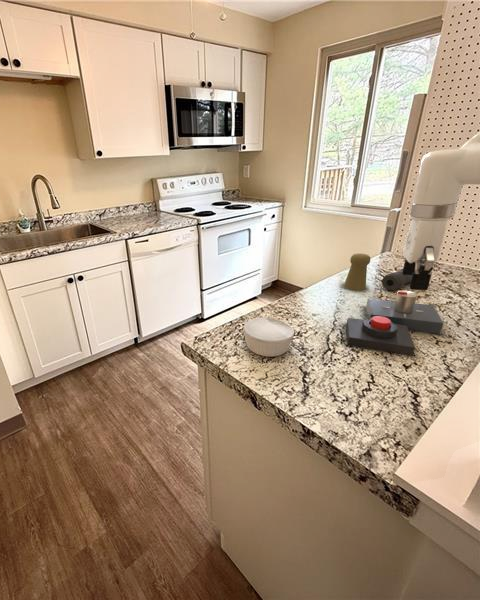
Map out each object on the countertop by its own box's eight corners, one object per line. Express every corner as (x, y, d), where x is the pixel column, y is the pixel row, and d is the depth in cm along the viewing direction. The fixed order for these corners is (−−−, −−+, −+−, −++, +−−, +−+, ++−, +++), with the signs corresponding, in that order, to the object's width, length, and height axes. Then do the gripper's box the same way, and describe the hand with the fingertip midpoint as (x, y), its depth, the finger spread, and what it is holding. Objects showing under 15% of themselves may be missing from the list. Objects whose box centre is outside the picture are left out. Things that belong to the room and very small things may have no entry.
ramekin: (299, 343, 75) (301, 325, 73) (279, 366, 69) (282, 346, 66) (255, 330, 83) (257, 312, 81) (234, 349, 76) (235, 330, 74)
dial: (410, 307, 80) (415, 290, 78) (414, 314, 77) (419, 296, 75) (391, 305, 82) (396, 288, 80) (394, 311, 79) (398, 294, 77)
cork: (342, 282, 104) (348, 251, 99) (363, 283, 102) (370, 251, 97) (345, 290, 99) (351, 257, 94) (367, 291, 97) (375, 257, 92)
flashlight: (397, 293, 94) (401, 277, 91) (378, 288, 98) (381, 272, 96) (425, 281, 99) (430, 265, 97) (405, 276, 104) (410, 261, 101)
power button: (388, 323, 73) (389, 317, 73) (390, 331, 70) (392, 324, 70) (369, 321, 75) (371, 314, 74) (371, 328, 72) (372, 322, 71)
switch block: (404, 333, 75) (408, 318, 74) (412, 355, 68) (417, 340, 66) (346, 324, 81) (349, 311, 79) (347, 345, 73) (350, 330, 71)
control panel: (429, 315, 81) (433, 304, 80) (439, 334, 74) (444, 322, 72) (365, 307, 88) (367, 297, 87) (368, 324, 80) (371, 313, 79)
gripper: (403, 204, 77) (389, 268, 84) (418, 219, 64) (400, 294, 71) (443, 203, 74) (425, 270, 81) (467, 218, 60) (443, 297, 67)
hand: (413, 281), depth 76 cm, fingers open, 9 cm apart
